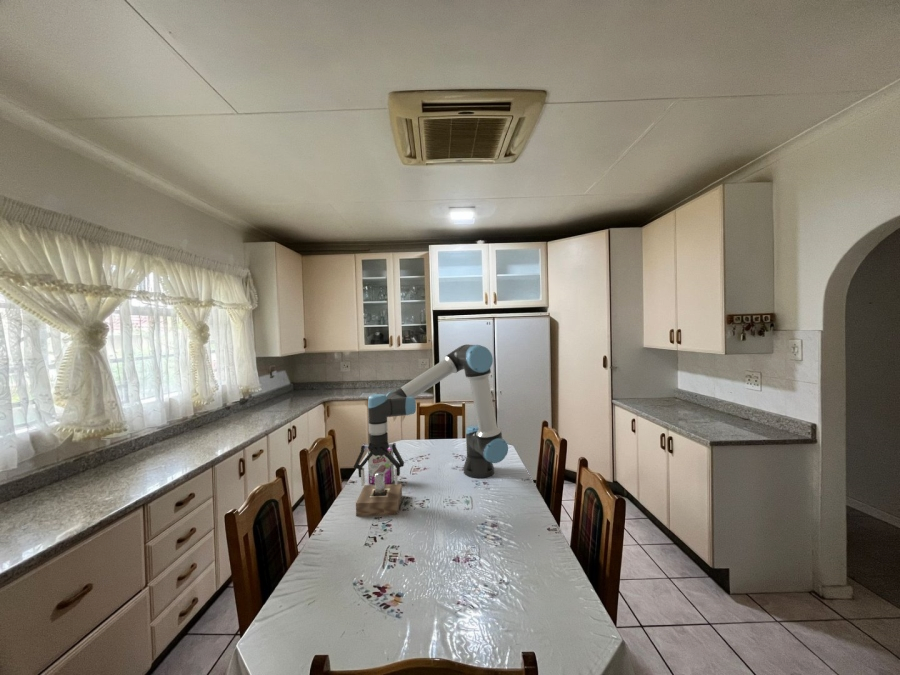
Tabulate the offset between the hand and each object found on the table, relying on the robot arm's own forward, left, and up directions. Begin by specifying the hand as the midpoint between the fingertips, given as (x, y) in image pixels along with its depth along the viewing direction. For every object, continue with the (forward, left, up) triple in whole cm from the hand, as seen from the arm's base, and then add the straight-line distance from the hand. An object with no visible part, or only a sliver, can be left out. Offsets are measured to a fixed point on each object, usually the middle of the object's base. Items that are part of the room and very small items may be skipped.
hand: (379, 484), depth 145 cm
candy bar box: (+3, -22, -9) cm, 24 cm away
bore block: (0, 0, -9) cm, 9 cm away
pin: (0, 0, -8) cm, 8 cm away
